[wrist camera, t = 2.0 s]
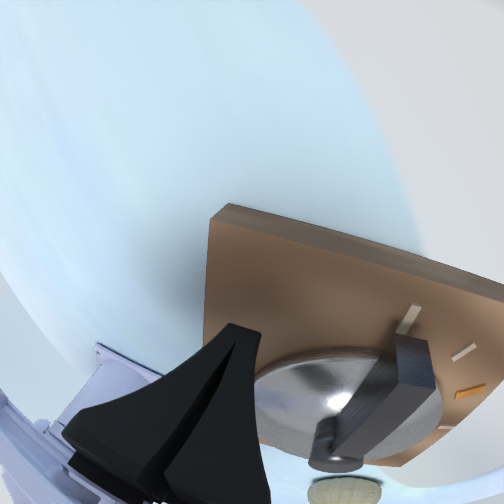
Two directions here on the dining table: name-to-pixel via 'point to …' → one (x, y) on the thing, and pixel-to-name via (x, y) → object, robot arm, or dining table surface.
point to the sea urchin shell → (344, 491)
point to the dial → (349, 403)
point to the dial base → (353, 304)
